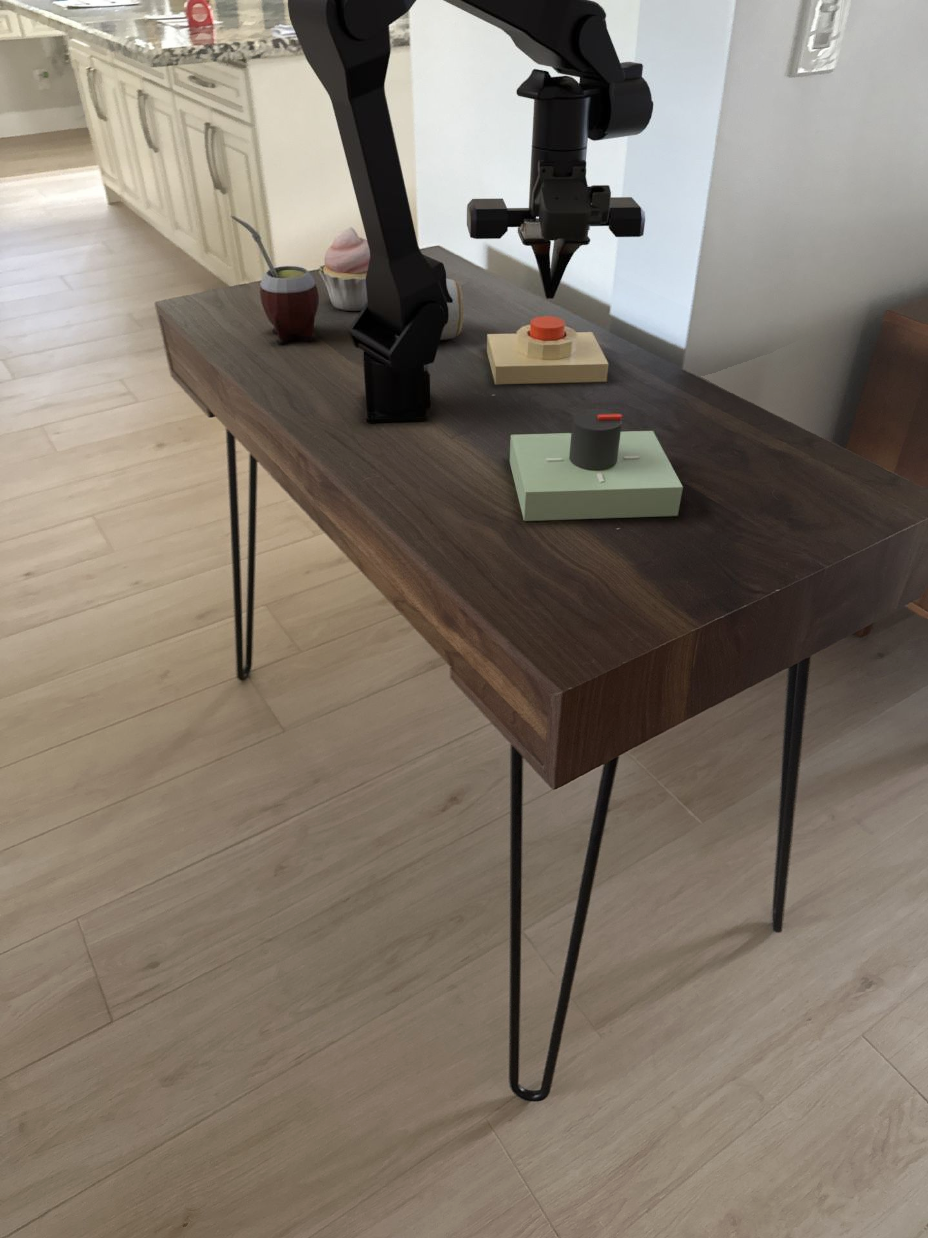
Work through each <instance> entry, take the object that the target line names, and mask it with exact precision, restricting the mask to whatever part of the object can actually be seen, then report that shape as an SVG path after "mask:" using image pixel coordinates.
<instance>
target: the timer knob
mask: <svg viewBox="0 0 928 1238" xmlns="http://www.w3.org/2000/svg"><path fill="white" fill-rule="evenodd" d="M571 422H572V423H571V432H570V433H571V443H570V454H569V459H570V461H571V462H572V463H573V464H574V465H576V466H578V467H580V468H583V469H587V470H605V469H608V468H611V467H613V466H614V465H615V464H616V462H617V458H618V450H619V442H620V434H621V432H622V425H623V416H622V414H621V413H615V412H614V411H611V410H607V409H603V408H585V409H582V410H578V411H576V412H575V413H574V414H573V416H572V421H571Z"/></svg>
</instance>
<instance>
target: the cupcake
mask: <svg viewBox="0 0 928 1238" xmlns="http://www.w3.org/2000/svg"><path fill="white" fill-rule="evenodd" d="M369 261H370V250H369V246H368V242H367V238H363V237H360V236H359V235H358V232H357V231H356V230H355V229H354V228H353V227H352V226H350V227H348V228H347V229H345V230H343V231H341V232H340V233H339V234H338V235H336V237H334V239H333V241H332V244H331V245H330V246H329V248H328V249H327V250H326V251H325V253H324V260H323V262H324V264H323V265H319V266H318V268H319V271H318V272H319V275H320V277H321V279H322V281H323V282H324V285H325V286H326V289H327V292H328V296H329V300H330V302H331V304H332V306H333V307H334V308H336V309H337V310H342V311H347V312H359V311H360V312H361V310H362V309H363V307H364V306H365V304H366V303H367V302H368V301H367V291H366V282H365V280H366V275H367V270H368V265H369Z"/></svg>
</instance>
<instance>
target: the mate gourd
mask: <svg viewBox="0 0 928 1238" xmlns="http://www.w3.org/2000/svg"><path fill="white" fill-rule="evenodd" d="M230 218H231V219H233V220H234V221H235V222H237V223H238V224H240V225H241V226H243V227H244V228H245V229H246V230H247V231H248V232H249V233H250V234H251V237H252V238H253V241H254V242H255V243H256V244H257V246H258V248H259V250H260V252H261V254H262V257H263V258H264V261H265V263H266V265H267V267H268V270H267V271H266V272H265V273H264V275H263V277H262V279H261V281H260V288H259V296H260V300H261V305H262V308H263V311H264V313H265V315H266V318H267V319H268V320H269V322H270V324H271V325H272V326H273V328H271V331H272V334H274V335H277V336H278V339H276V343H277V345H280V346H283V345H285V344H287V343H289V342H291V341H293V340H296V339H297V340H301V341H306V342H315V341H316V336H315V335H314V334H313V333H314V328H315V319H316V318H315V317H316V315H317V312H318V308H319V303H320V302H319V298H320V296H319V291H318V287H317V284H316V281H315V278H314V277H313V276H312V274H311V272H310V271H309V270H308V269H306V268H304V267H303V266H302V267H301V266H297V265H283V266H282V265H281V266H276V267H274V265H273V262H272V261H271V258H270V257H269V255H268V252H267V250H266V247H265V246H264V244H263V242H262V237H261V236H260V234H259V232H258V231H256V230H255V228H254V227H253V226H251V225H250V224H249V223H248V222H246V221H244V220H242V219H240V218H238V217H236V216H234V215H233V214H231V215H230Z"/></svg>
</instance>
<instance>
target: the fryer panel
mask: <svg viewBox="0 0 928 1238" xmlns="http://www.w3.org/2000/svg"><path fill="white" fill-rule="evenodd" d="M509 442H510V444H509V445H510V447H509V465H510V470H511V473H512V474H511V475H512V478H513V481H514V486H515V490H516V494H517V498H518V502H519V507H520V510H521V514H522V519H523V521H524V522H537V521H538V522H539V521H567V520H595V519H596V520H597V519H599V520H600V519H624V518H653V517H654V518H656V517H678V516H679V511H680V505H681V500H682V494H683V489H684V486H683V484H682V483H681V481H680V479H679V477H678V475H677V473H676V472H675V469H674V467H673V466H672V464H671V462H670V460H669V458H668V456H667V454H666V453H665V451H664V449H663V447H662V445H661V443H660V441H659V440H658V437H657V435H656V434H655V431H654V430H633V431H632V430H631V431H630V430H629V431H621V434H620V442H619V450H618V458H617V462H616V464H615V465H614V466H613V467H611V468H608V469H605V470H587V469H583V468H580V467H578V466H576V465H574V464H573V463H572V462H571V461H570V459H569V454H570V443H571V432H562V433H561V432H560V433H557V432H556V433H526V434H525V433H523V434H522V433H521V434H510V441H509Z"/></svg>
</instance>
